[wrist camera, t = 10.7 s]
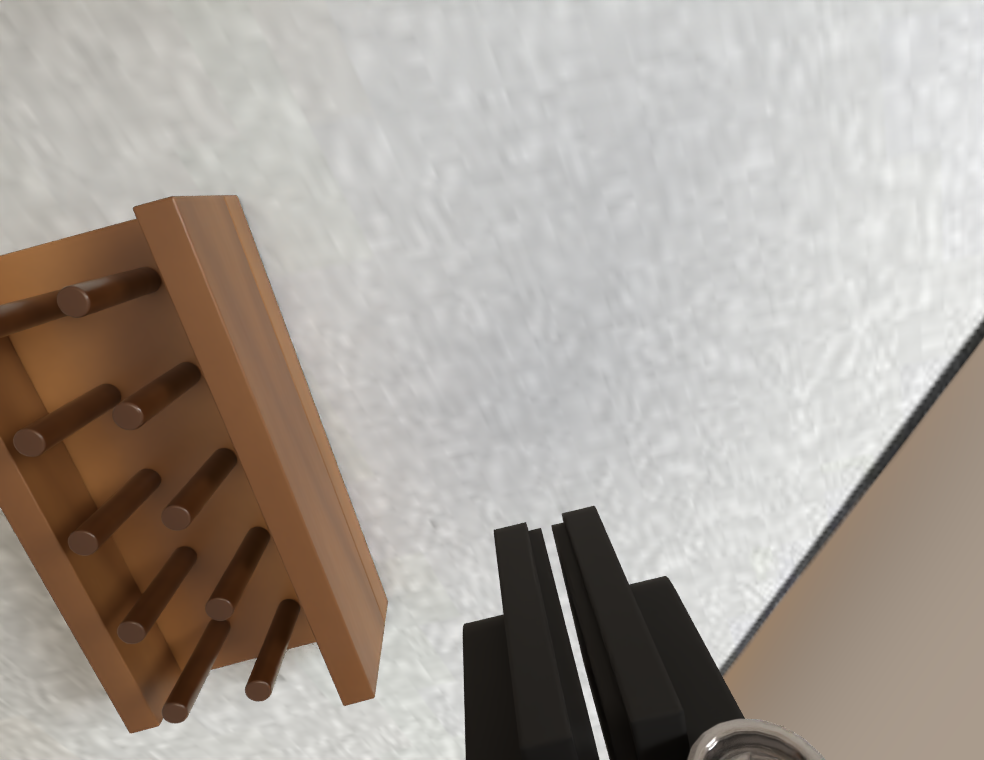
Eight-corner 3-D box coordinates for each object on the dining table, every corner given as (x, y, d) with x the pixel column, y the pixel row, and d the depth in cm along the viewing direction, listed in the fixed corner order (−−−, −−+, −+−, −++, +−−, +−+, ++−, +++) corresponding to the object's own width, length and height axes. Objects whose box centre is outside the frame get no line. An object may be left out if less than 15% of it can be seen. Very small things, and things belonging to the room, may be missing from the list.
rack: (237, 194, 22) (165, 195, 16) (388, 601, 27) (373, 709, 22) (-30, 267, 22) (-196, 294, 16) (173, 659, 28) (102, 782, 22)
